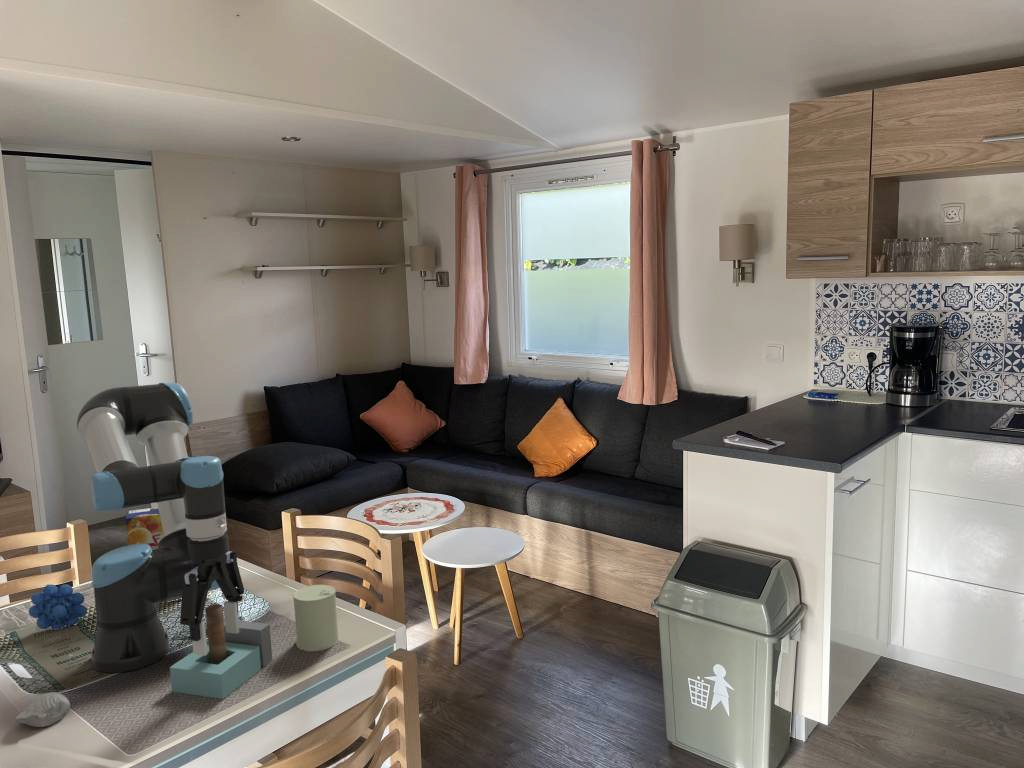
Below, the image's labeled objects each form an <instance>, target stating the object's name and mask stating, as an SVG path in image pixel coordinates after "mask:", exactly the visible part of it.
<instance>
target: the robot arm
mask: <svg viewBox="0 0 1024 768" xmlns="http://www.w3.org/2000/svg"><path fill="white" fill-rule="evenodd" d="M193 413H194V412H193V410H192V404H191V401H190V398H189V396H188V392H187V391H186V389H185V388H184V387H183V386H182V385H181V384H179V383H176V382H172V383H171V382H168V383H165V382H159V383H158V384H157V383H154V384H146V385H134V386H123V387H120V386H119V387H112V388H108V389H105V390H103V391H100V392H99V393H97V394H95V395H93V396H92V397H91V398H89V400H87V402H85V404H84V405H83V406H82V408H81V409H80V410H79V412H78V415H77V418H76V429H77V431H78V435H79V437H80V438H81V439H82V441H83V442H85V443H87V446H88V449H89V453H90V455H91V458H92V462H93V464H94V468H95V470H96V473H95V474H93V475H92V476H91V477H90V492H91V500H92V503H93V507H94V509H95V510H97V511H99V512H106V511H119V510H121V509H127V508H133V507H138V506H144V505H148V504H149V505H150V504H155V503H157V507H158V509H159V514H160V519H161V524H162V528H163V533H164V535H163V536H162V537H161V538H160V540H159V541H158V546H159V549H154V550H152V548H151V547H150V545H148V544H137V545H136V544H132V545H128V544H127V545H125V546H120V547H118V548H115V549H112V550H110V551H108V552H106V553H104V554H102V555H101V556H99V557H98V558H97V559H96V560H95V562H94V563H93V565H92V567H91V574H92V581H91V586H92V588H93V595H94V604H95V614H96V615H95V616H96V622H97V631H96V634H95V638H94V644H93V645H94V646H93V648H92V651H91V665H92V668H93V669H94V670H96V671H98V672H102V673H108V674H109V673H123V672H130V671H134V670H137V669H141V668H143V667H144V668H145V667H147V666H150V665H151V664H154V663H156V662H158V661H159V660H161V659H163V658H164V657H165V656H167V654H168V653H169V651H170V639H169V635H168V633H167V632H166V631H165V628H164V625H163V623H162V622H161V619H160V618H159V616H158V615H159V614H158V608H157V606H158V605H160V604H159V603H162V604H164V603H163V602H167V601H171V600H176V599H180V598H182V600H181V603H180V604H181V605H180V619H179V624H180V625H182V626H188V627H189V635H190V636H189V638H190V640H191V641H192V642H191V643H192V652H193V654H195V655H202V656H206V655H207V654H208V653H207V642H208V641H207V632H206V631H207V630H206V624H205V622H204V621H202V620H203V615H204V611H205V608H206V602H207V598H208V595H209V592H211V591H215V590H218V589H220V591H221V593H222V594H223V596H224V598H225V601H224V602H223V617H224V619H225V627H226V633H234V634H237V633H239V623H238V621H239V612H240V611H239V603H238V602H241V601H242V600H243V595H245V594H244V593H245V588H244V583H243V580H242V575H241V571H240V568H239V564H238V552H236V551H232V550H231V551H230V546H229V534H228V533H227V531H228V526H227V515H226V513H227V512H226V500H225V499H226V498H225V487H224V476H225V475H224V471H223V468H222V467H223V466H222V461H221V459H220V458H219V457H217V456H212V455H204V456H203V455H200V456H193V457H192V456H188V452H187V447H186V443H185V437H186V436H187V435H188V433H189V428H190V427H191V426H192V425H193V422H194V416H193V415H194V414H193ZM133 435H135V437H136V441H137V442H138V443H139V444H140V445H142V446H143V447H145V451H146V455H147V460H148V464H149V465H147V466H141V467H140V466H139V465H138V462H137V460H136V458H135V456H134V453H133V451H132V448H131V446H130V444H129V441H128V438H127V436H133ZM226 600H227V601H226Z"/></svg>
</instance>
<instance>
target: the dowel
mask: <svg viewBox="0 0 1024 768" xmlns="http://www.w3.org/2000/svg"><path fill="white" fill-rule="evenodd" d="M204 611H205V619H206V628H207V629H206V631H207V632H206V633H207V639H208V641H207V642H208V643H209V654H210V664H216V665H218V664H220V663H221V662H223V661H224V660H225V659H227V652H226V641H225V630H224V619H225V617H224V606H223V605H222V604H219V603H216V604H211V605H208V606H205V608H204Z"/></svg>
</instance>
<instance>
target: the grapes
mask: <svg viewBox="0 0 1024 768" xmlns="http://www.w3.org/2000/svg"><path fill="white" fill-rule="evenodd" d="M30 601H31V603H32V604H33V605H32V606H30V607H29V608H28V615H29V616H30V617H31V618H33V619H37V620H36V625H37V627H38V628H39V629H42V630H47V629H49V628H52V629H61V628H62V627H64V626H65V625H74V624H76V623H77V622H78V621H79V620H80V618H83V617H85V616H86V615H87V613H88V609H87V607H86V606H85V605H83V603H84V602H85V595H84V594H83V593H81V592H74V589H73V587H72V586H71V585H69V584H62V585H60V586H59V587H57V586H56V585H55V584H46V585H45V586H44V587H43V588H42V592H35V593H33V594H32V595H31V597H30ZM52 629H51V630H52ZM61 630H62V629H61Z"/></svg>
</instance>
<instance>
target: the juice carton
mask: <svg viewBox="0 0 1024 768" xmlns="http://www.w3.org/2000/svg"><path fill="white" fill-rule="evenodd" d="M125 524H126V525H125V526H126V532H127V533H126V534H127V545H132V544H136V545H137V544H148V545H150V547H151V548H152V550H154V549H159V546H158V541H159V540H160V538H161V537H162V536H163V535H164V533H163V528H162V524H161V519H160V514H159V509H158V506H156V507H151V508H150V507H149V508H143V509H142V508H141V509H133V510H128V511H127V513H126V517H125Z"/></svg>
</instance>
